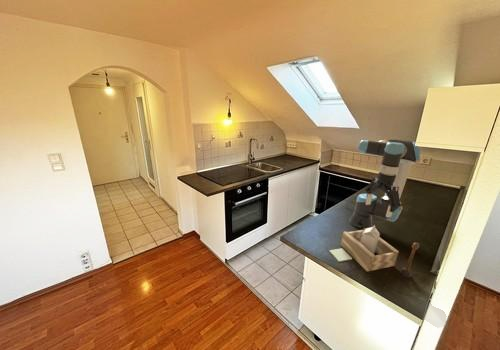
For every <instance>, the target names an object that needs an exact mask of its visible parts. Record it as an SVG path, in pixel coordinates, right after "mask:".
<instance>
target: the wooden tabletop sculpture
mask: <svg viewBox="0 0 500 350" xmlns="http://www.w3.org/2000/svg"><path fill="white" fill-rule="evenodd" d="M411 248H412V249H411V252H410V255H409V257H408V260H407V261H406V264H405V266H404V267H403V268H401V269H400V270H399V274H400V275H401V276H402V277H403V278H406V279H410V278H411V277H412V272H411V266H412V261H413V259H414V256H415V254H416V253H417V252H416V251H417V250H418V249H419V248H420V243H419V242H413V243H412V245H411Z"/></svg>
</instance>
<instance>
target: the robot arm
mask: <svg viewBox="0 0 500 350" xmlns="http://www.w3.org/2000/svg"><path fill="white" fill-rule="evenodd" d="M415 142H416V141H410V140H402V139H401V140H400V139H381V140H368V139H367V140H366V139H362V140H361V141H359V144H358V149H357V150H358V153H361V154H364V155H365V154H366V155H372V156H378V157H382V160H381V164H380V166H379V172H378V175H377V177H372V179H371V182H370V183H369V184H368V185H367V186H366V188H365V189H364V191H365V192H366V193H361V194H358V196H357V198H356V201H355V207H354V211H353V213H352V214H351V216H350V217H349V223H350V224H351V226H354V227H355V228H357V229H360V230H364V229H366V228H371V227H373V226H374V225H373V224H374V223H373V216H375V217H377V218H381V219H383V220H385V221H389V222H392V223H393V222H395V221H396V220H397V219H398V218H399V216H400V214H401V212H402V210H403V206H402V202H401V197H402V194H403V190H404V187H405V185H406V182H407V179H408V177H409V173H410V171H411V168H412V166H413V165H415V164H416V162H420V159H421V154H422V147H418V146H415ZM377 190H381V191H382V192H384V196H381V198H380V199H378V198H377V195H375V194H373V193H374V192H375V191H377Z"/></svg>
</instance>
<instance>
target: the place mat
mask: <svg viewBox="0 0 500 350" xmlns="http://www.w3.org/2000/svg"><path fill="white" fill-rule="evenodd" d="M328 251H329V253H330V254H331V255H332V256H333V258H335V260H337V262H338V263H339V262H345V261H351V260H353V257H352V256H351V255H350V254H349V253H348V252H347V251H346V250H345V249H344V248H343V247H340V248H336V249H331V250H330V249H329V250H328Z"/></svg>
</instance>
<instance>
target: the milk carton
mask: <svg viewBox="0 0 500 350" xmlns="http://www.w3.org/2000/svg"><path fill="white" fill-rule="evenodd" d="M380 235H381V233H380V232H379V230H378V229H377V227H376V225H375V224H374V225H372V227H371V228H367V229H366V230H365V231H364V232H363V234H362V237H361V241H360V243H361V244H362V245H363V246H364V247H365V248H367V249H368V250H369V251H370V252H371V253H372V254H374V255H375V253H376V252H375V249H376V246H377V243H378V239H379V237H380Z"/></svg>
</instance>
